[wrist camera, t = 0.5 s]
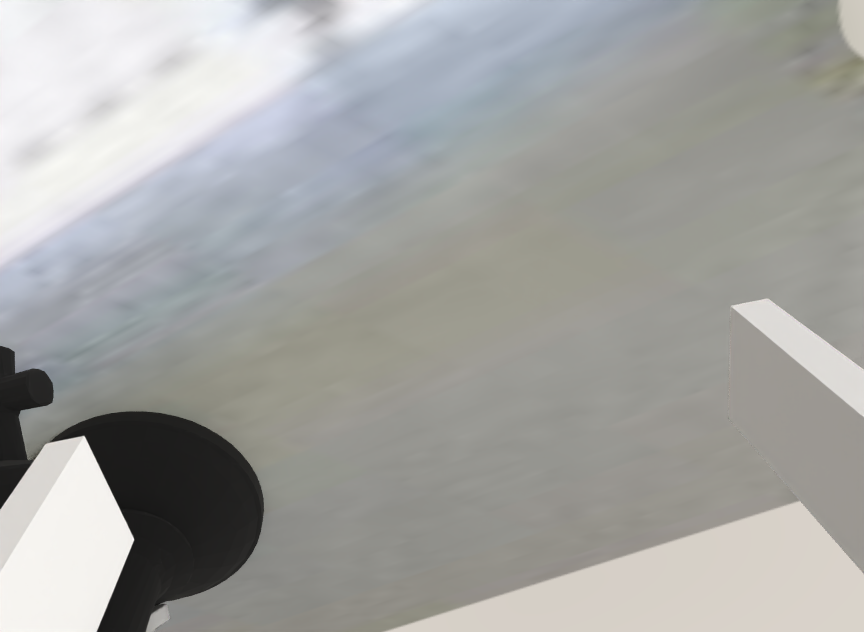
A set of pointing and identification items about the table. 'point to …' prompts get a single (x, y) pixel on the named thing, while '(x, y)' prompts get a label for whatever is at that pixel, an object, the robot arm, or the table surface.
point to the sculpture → (150, 497)
